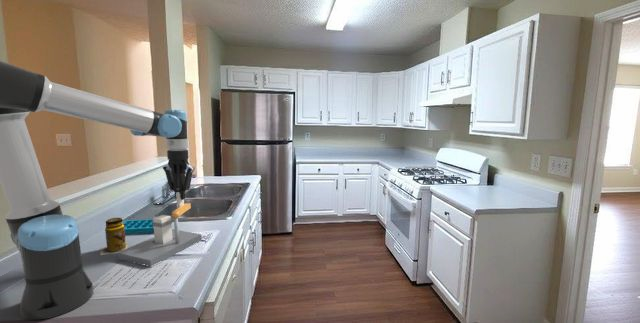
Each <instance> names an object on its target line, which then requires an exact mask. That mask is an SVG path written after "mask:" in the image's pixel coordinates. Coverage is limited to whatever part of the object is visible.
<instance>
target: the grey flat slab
mask: <svg viewBox="0 0 640 323" xmlns="http://www.w3.org/2000/svg"><path fill="white" fill-rule="evenodd" d="M172 237H173V240H172V241H169V242H167V243H165V244H158V243H155V238H154V236H152V237H150V238H148V239H145V240H142V241H141V242H138V243H136V244H134V245H132V246H130V247H127V249H125V250H122V251H120V252H117V260H118V261H123V260H124V261H123V262H127V261H129V262H128V263H131V262H135V263H134V264H136V263H140V264H145V265H148V266H152V265H154V264H156V263H158V262H160V261H162V262H164V261H165V259H166V260H168V259H170V258H171V257H173V256H174V255H176V253H177V254H178V252H179V253H180V252H182V251H184V250H186V249H187V248H189V247H192V246H193V245H195V244H197V243H200V242H201V241H202V240H203V238H202V233H201V234H200V233H195V232H190V231H186V230H180V229H179V243H175V229H173V228H172ZM163 260H164V261H163ZM160 263H161V262H160ZM140 264H139V265H140ZM158 264H159V263H158ZM156 265H157V264H156ZM148 266H147V267H148ZM154 266H155V265H154Z"/></svg>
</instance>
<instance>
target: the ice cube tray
mask: <svg viewBox="0 0 640 323" xmlns="http://www.w3.org/2000/svg"><path fill="white" fill-rule="evenodd" d="M122 222H123V225H124V229H125V235H134V234H135V235H137V234H154V226H153V224H152V222H153V218H149V219H131V220H130V219H128V220H124V221H123V220H122Z"/></svg>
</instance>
